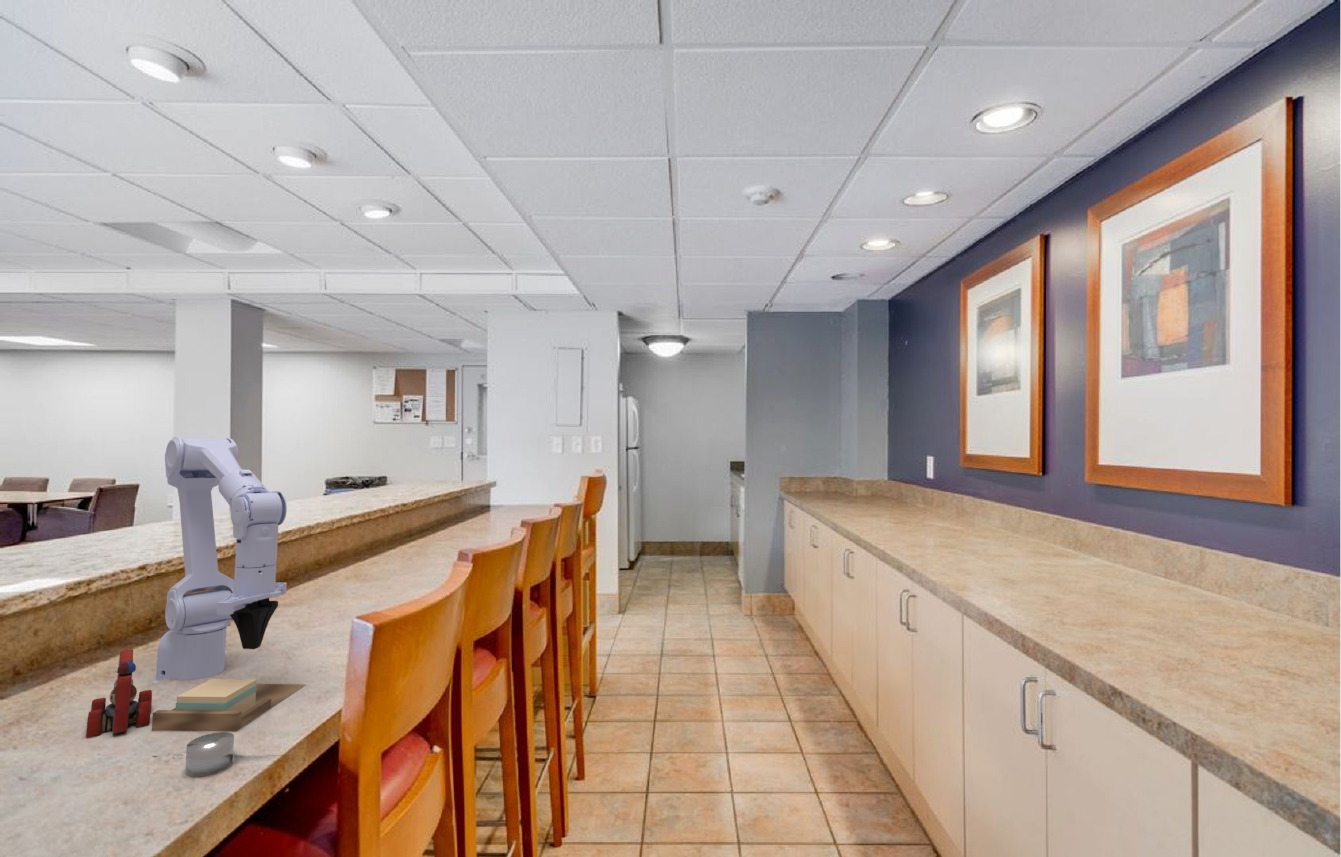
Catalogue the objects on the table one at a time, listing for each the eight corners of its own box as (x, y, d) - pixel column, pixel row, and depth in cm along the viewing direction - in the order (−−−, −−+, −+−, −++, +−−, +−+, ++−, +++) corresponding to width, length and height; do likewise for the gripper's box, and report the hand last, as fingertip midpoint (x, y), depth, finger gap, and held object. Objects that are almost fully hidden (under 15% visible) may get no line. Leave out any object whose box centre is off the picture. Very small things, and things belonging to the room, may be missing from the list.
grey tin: (175, 777, 77) (176, 749, 78) (204, 758, 82) (205, 731, 83) (215, 778, 78) (216, 750, 78) (241, 758, 83) (242, 732, 83)
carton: (174, 727, 89) (176, 696, 89) (209, 707, 96) (211, 678, 96) (223, 728, 89) (225, 697, 89) (255, 708, 96) (257, 679, 96)
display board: (151, 737, 88) (152, 712, 88) (236, 689, 106) (237, 669, 106) (235, 738, 88) (237, 713, 88) (306, 690, 106) (307, 669, 106)
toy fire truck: (83, 751, 83) (88, 675, 84) (91, 720, 93) (95, 651, 93) (149, 737, 88) (154, 664, 88) (151, 708, 97) (154, 643, 98)
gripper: (251, 574, 94) (246, 663, 93) (305, 558, 108) (301, 634, 108) (205, 573, 93) (199, 662, 93) (265, 557, 108) (261, 634, 107)
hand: (251, 647), depth 100 cm, fingers closed
